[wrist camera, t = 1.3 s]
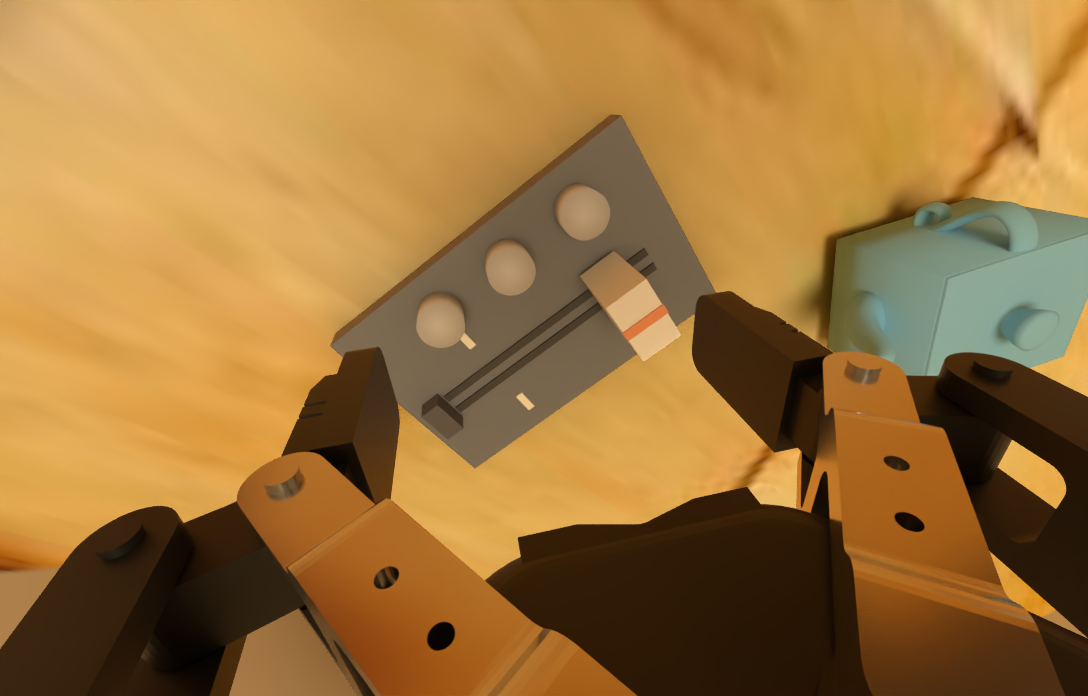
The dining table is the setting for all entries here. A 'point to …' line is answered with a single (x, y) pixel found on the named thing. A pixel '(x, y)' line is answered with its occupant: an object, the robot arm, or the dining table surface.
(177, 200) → the dining table surface
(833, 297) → the teapot
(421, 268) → the console
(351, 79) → the dining table surface
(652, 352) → the block
